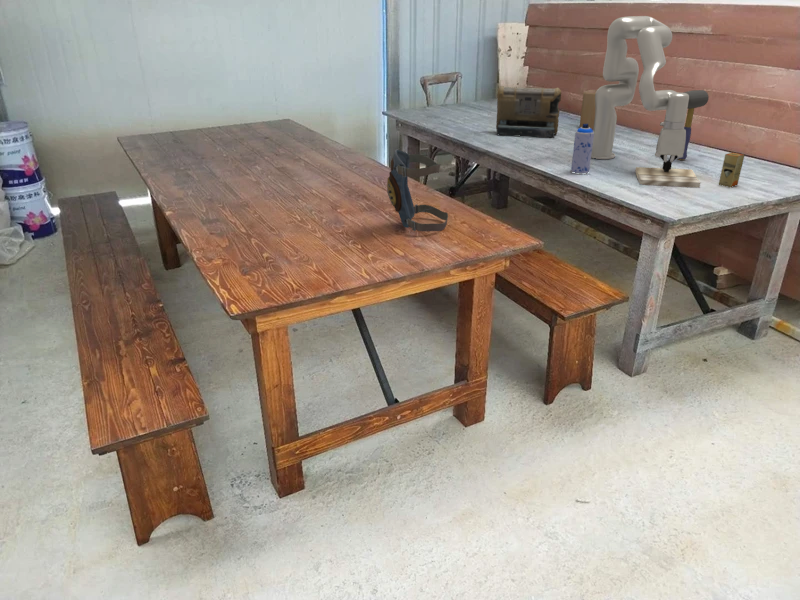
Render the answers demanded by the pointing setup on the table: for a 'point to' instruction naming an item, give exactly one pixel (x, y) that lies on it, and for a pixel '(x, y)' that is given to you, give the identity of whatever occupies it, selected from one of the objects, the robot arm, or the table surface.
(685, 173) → the pale ash plank
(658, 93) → the robot arm
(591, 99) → the wooden block
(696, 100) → the rubber mallet
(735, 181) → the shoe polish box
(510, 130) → the brown boxy block
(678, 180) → the streaked tan wood board
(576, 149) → the aerosol can
